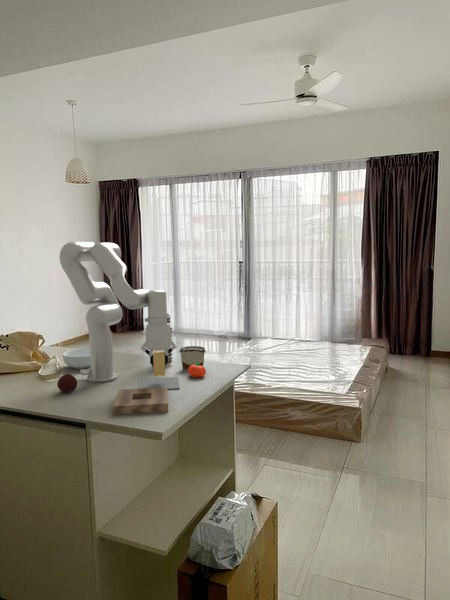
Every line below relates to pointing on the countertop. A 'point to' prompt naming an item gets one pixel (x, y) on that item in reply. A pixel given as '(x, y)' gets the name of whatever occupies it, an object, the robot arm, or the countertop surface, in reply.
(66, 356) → the cereal bowl
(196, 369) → the pumpkin
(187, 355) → the food container
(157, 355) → the ochre block
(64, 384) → the dark maroon ball
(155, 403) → the walnut cradle
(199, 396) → the countertop surface
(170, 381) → the grey mat
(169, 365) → the decorative candle
